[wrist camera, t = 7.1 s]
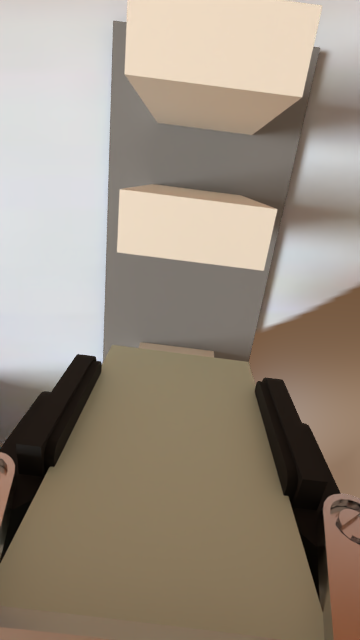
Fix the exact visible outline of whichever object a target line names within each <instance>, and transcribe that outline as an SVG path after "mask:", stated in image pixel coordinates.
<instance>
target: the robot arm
mask: <svg viewBox="0 0 360 640" xmlns="http://www.w3.org/2000/svg"><path fill="white" fill-rule="evenodd" d="M101 369H102V364H101V362H100V361H96V357H95V356H87V355H79V354H78V355H76V357H75V358H74V360H73V361H72V363H71V364H70V365H69V367H68V368H67V370H66V371H65V373H64V374H63V376H62V377H61V379H60V380H59V382H58V383H57V384H56V386H55V387H54V389H53V390H52V392H45V391H44V392H42V393H41V394H40V395H39V396H38V398H37V399H36V400H35V402H34V403H33V405H32V406H31V407H30V409H29V410H28V411H27V413H26V414H25V415H24V417H23V418H22V420H21V421H20V422H19V424H18V425H17V426H16V428H15V429H14V430H13V432H12V433H11V435H10V436H9V437H8V439H7V440H6V441H5V443H4V444H3V446H2V447H1V448H0V563H1V561H2V559H3V557H4V555H5V553H6V551H7V549H8V548H9V546H10V544H11V542H12V540H13V538H14V536H15V534H16V532H17V530H18V528H19V526H20V524H21V522H22V520H23V518H24V516H25V514H26V512H27V510H28V508H29V506H30V504H31V503H32V501H33V499H34V497H35V495H36V493H37V491H38V489H39V487H40V485H41V483H42V481H43V479H44V477H45V475H46V473H47V471H48V469H49V467H55V465H56V463H57V461H58V459H59V457H60V455H61V453H62V451H63V449H64V447H65V445H66V443H67V441H68V439H69V437H70V435H71V433H72V431H73V429H74V427H75V425H76V423H77V421H78V419H79V417H80V415H81V413H82V411H83V408H84V406H85V404H86V402H87V400H88V398H89V396H90V394H91V392H92V390H93V388H94V386H95V384H96V382H97V380H98V378H99V376H100V374H101ZM255 395H256V398H257V402H258V406H259V409H260V413H261V416H262V420H263V423H264V427H265V431H266V434H267V438H268V441H269V445H270V448H271V452H272V456H273V459H274V463H275V466H276V470H277V473H278V477H279V481H280V484H281V488H282V491H283V495H284V496H288V497H289V500H290V503H291V507H292V510H293V514H294V517H295V520H296V524H297V527H298V531H299V534H300V537H301V541H302V544H303V548H304V551H305V554H306V558H307V561H308V564H309V568H310V571H311V575H312V578H313V581H314V585H315V588H316V592H317V595H318V598H319V602H320V605H321V609H322V612H323V624H324V640H360V499H359V498H356V497H354V496H351V495H347V494H341V493H340V491H339V489H338V487H337V485H336V483H335V480H334V479H333V477H332V474H331V472H330V470H329V468H328V465H327V463H326V462H325V459H324V457H323V455H322V452H321V450H320V448H319V446H318V444H317V442H316V440H315V437H314V435H313V433H312V431H311V429H310V427H309V426H308V425H307V424H304V423H302V422H301V420H300V418H299V415H298V413H297V411H296V409H295V406H294V404H293V402H292V399H291V397H290V395H289V393H288V390H287V388H286V386H285V383H284V381H283V380H280V379H272V378H264V379H263V381H262V382H260V381H258V382H257V384H256V387H255ZM0 640H282V639H274V638H266V637H258V636H250V635H242V634H234V633H226V632H218V631H209V630H201V629H193V628H185V627H177V626H168V625H160V624H152V623H143V622H135V621H126V620H118V619H110V618H101V617H93V616H84V615H76V614H67V613H58V612H49V611H41V610H32V609H23V608H14V607H6V606H0Z"/></svg>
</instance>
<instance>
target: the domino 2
mask: <svg viewBox="0 0 360 640" xmlns="http://www.w3.org/2000/svg"><path fill="white" fill-rule="evenodd" d="M276 213H277V209H276V208H273V207H270V206H268V205H265V204H263V203H260V202H257V201H255V200H252V199H249V198H247V197H244V196H242V195H234V194H227V193H219V192H211V191H203V190H195V189H187V188H179V187H171V186H164V185H156V184H151V185H144V186H137V187H131V188H124V189H120V191H119V215H118V238H117V252H118V253H126V254H134V255H142V256H150V257H158V258H166V259H173V260H181V261H189V262H197V263H205V264H213V265H221V266H229V267H237V268H245V269H253V270H261V271H264V268H265V263H266V259H267V254H268V250H269V245H270V241H271V236H272V232H273V227H274V222H275V218H276Z"/></svg>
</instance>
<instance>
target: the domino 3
mask: <svg viewBox="0 0 360 640" xmlns="http://www.w3.org/2000/svg"><path fill="white" fill-rule="evenodd" d="M255 387H256V385H255V382H254V378H253V375H252V372H251V368H250V365H249V362H246V361H238V360H230V359H222V358H214V357H206V356H198V355H190V354H182V353H174V352H166V351H158V350H150V349H142V348H134V347H126V346H118V345H112V346H111V348H110V350H109V352H108V354H107V356H106V358H105V360H104V362H103V364H102V369H101V374H100V376H99V378H98V380H97V382H96V384H95V386H94V388H93V390H92V392H91V394H90V396H89V398H88V400H87V402H86V404H85V406H84V408H83V411H82V413H81V415H80V417H79V419H78V421H77V423H76V425H75V427H74V429H73V431H72V433H71V435H70V437H69V439H68V441H67V443H66V445H65V447H64V449H63V451H62V453H61V455H60V457H59V459H58V461H57V463H56V465H55V467H49V469H48V471H47V473H46V475H45V477H44V479H43V481H42V483H41V485H40V487H39V489H38V491H37V493H36V495H35V497H34V499H33V501H32V503H31V504H30V506H29V508H28V510H27V512H26V514H25V516H24V518H23V520H22V522H21V524H20V526H19V528H18V530H17V532H16V534H15V536H14V538H13V540H12V542H11V544H10V546H9V548H8V549H7V551H6V553H5V555H4V557H3V559H2V561H1V563H0V606H6V607H14V608H23V609H32V610H41V611H49V612H58V613H67V614H76V615H84V616H93V617H101V618H110V619H118V620H126V621H135V622H143V623H152V624H160V625H168V626H177V627H185V628H193V629H201V630H209V631H218V632H226V633H234V634H242V635H250V636H258V637H266V638H274V639H282V640H324V624H323V612H322V609H321V605H320V602H319V598H318V595H317V592H316V588H315V585H314V581H313V578H312V575H311V571H310V568H309V564H308V561H307V558H306V554H305V551H304V548H303V544H302V541H301V537H300V534H299V531H298V527H297V524H296V520H295V517H294V514H293V510H292V507H291V503H290V500H289V497H288V496H284V495H283V491H282V488H281V484H280V481H279V477H278V473H277V470H276V466H275V463H274V459H273V456H272V452H271V448H270V445H269V441H268V438H267V434H266V431H265V427H264V423H263V420H262V416H261V413H260V409H259V406H258V402H257V398H256V395H255Z"/></svg>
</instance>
